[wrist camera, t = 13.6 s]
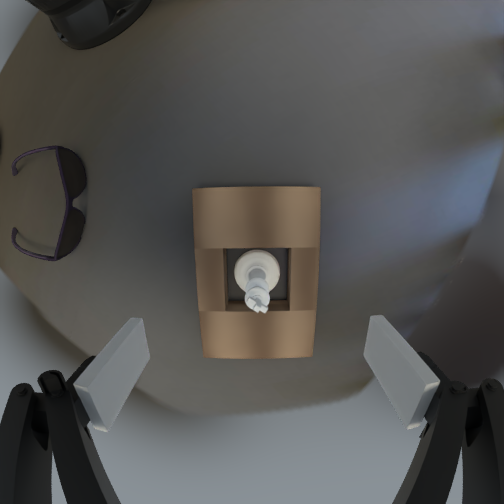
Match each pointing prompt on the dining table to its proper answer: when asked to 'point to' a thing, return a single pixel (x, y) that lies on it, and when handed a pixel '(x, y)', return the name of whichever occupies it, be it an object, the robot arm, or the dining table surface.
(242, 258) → the chess piece
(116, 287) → the dining table surface
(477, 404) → the robot arm
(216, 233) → the socket plate
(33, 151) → the sunglasses
